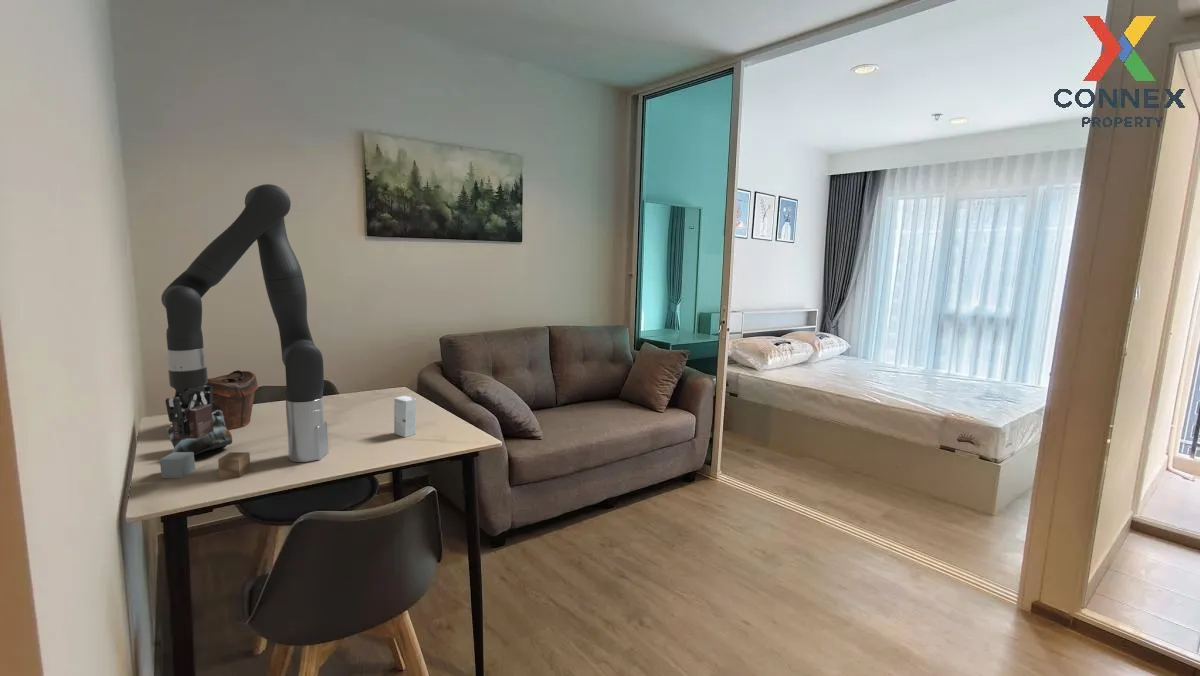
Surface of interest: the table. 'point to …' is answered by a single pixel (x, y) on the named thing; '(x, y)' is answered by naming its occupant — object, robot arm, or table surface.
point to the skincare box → (405, 416)
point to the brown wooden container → (234, 397)
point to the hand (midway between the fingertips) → (193, 431)
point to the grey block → (177, 464)
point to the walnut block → (234, 464)
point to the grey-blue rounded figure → (204, 437)
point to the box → (197, 422)
